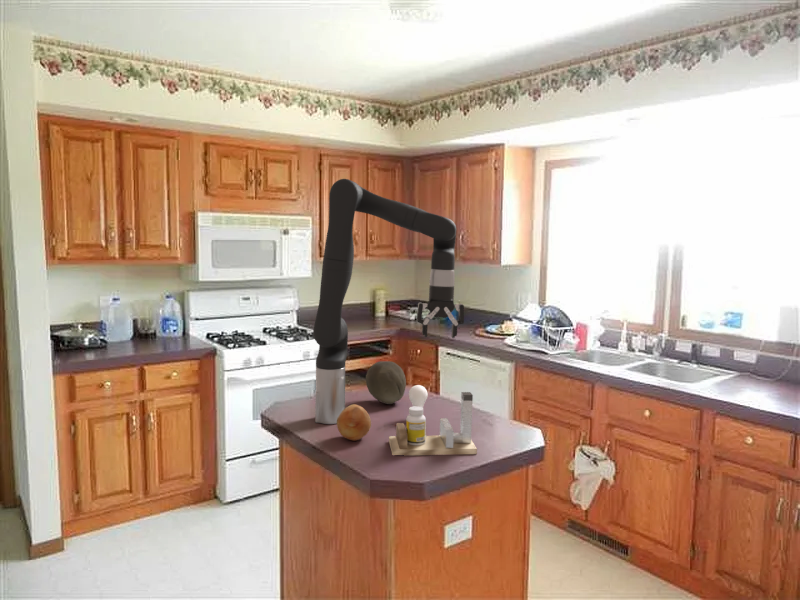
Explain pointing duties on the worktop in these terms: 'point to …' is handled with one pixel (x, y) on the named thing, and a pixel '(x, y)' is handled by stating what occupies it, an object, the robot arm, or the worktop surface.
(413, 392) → the lightbulb
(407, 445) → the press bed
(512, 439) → the worktop surface
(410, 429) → the supplement bottle
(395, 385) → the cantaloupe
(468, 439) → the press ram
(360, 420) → the onion
